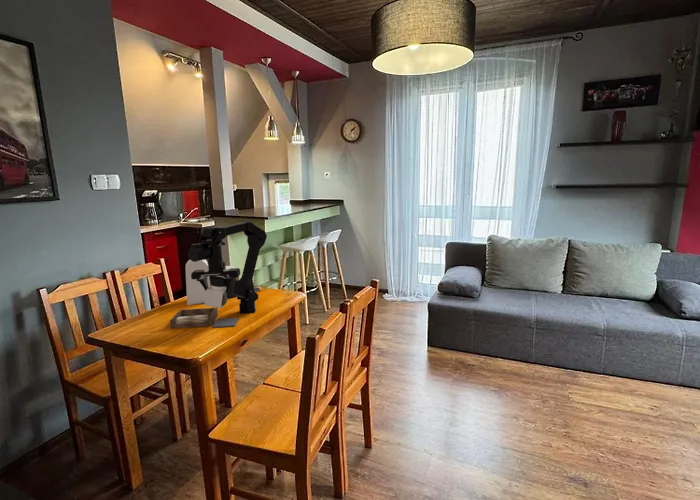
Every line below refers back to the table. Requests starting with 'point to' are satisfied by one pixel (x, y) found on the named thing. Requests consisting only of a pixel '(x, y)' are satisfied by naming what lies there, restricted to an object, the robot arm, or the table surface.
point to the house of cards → (256, 287)
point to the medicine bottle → (216, 292)
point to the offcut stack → (192, 319)
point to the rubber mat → (225, 322)
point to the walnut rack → (193, 312)
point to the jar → (231, 290)
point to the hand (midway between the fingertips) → (217, 293)
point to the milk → (195, 282)
